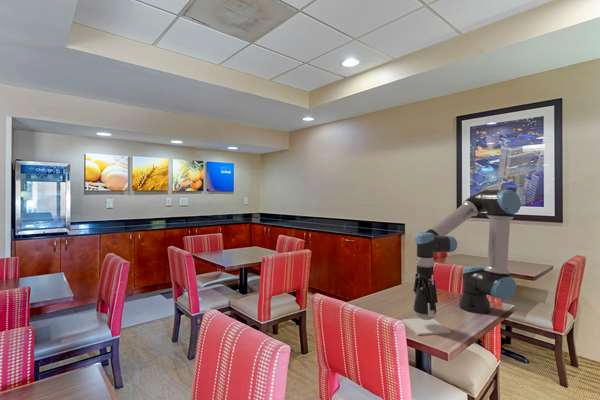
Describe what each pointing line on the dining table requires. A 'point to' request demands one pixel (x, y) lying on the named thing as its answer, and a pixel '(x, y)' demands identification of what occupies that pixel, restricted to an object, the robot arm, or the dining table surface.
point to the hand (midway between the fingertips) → (424, 312)
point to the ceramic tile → (425, 326)
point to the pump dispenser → (422, 304)
